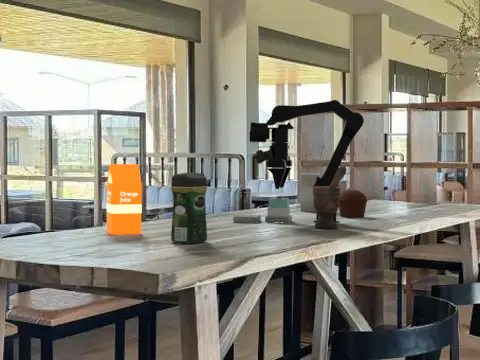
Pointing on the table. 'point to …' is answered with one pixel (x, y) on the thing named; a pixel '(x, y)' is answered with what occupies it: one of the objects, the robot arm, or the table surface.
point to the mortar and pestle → (328, 201)
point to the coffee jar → (189, 208)
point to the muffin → (352, 204)
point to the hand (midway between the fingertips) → (279, 188)
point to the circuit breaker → (307, 191)
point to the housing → (278, 207)
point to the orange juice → (124, 199)
